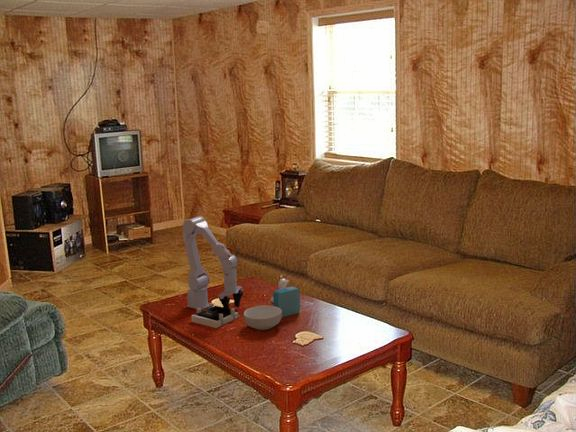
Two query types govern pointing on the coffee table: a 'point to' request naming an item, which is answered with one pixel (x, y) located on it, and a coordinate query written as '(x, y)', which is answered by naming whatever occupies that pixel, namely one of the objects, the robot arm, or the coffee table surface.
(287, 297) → the teal box
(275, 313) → the cereal bowl
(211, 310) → the battery charger
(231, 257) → the robot arm
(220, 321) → the dock
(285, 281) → the white creature statuette
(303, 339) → the coffee table surface
